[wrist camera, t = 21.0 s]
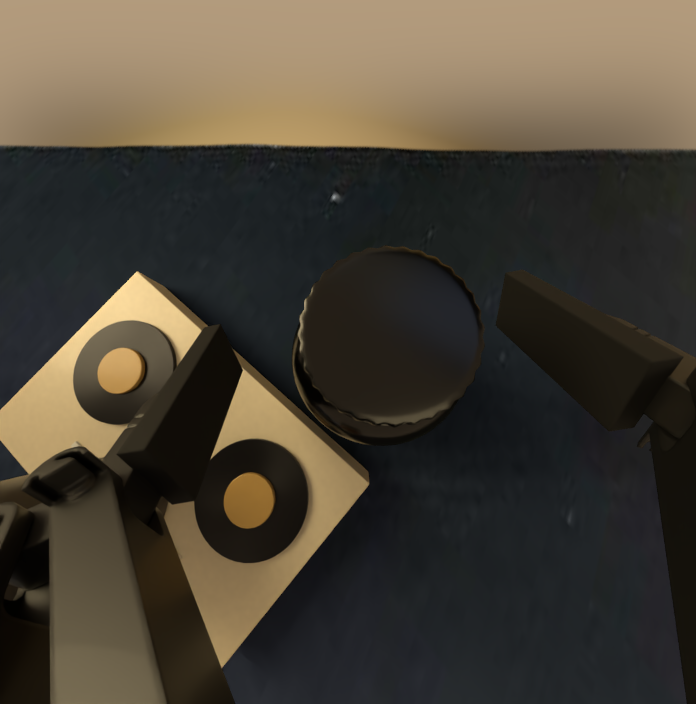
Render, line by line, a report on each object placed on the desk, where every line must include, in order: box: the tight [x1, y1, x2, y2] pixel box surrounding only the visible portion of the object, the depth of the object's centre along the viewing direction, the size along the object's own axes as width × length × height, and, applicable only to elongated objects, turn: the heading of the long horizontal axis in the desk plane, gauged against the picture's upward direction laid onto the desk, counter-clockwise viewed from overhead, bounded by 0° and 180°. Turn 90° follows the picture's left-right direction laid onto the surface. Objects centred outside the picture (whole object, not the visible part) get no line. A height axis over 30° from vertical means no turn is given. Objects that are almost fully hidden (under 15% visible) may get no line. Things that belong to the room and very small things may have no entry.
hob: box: [0, 272, 369, 668], centre depth 17 cm, size 20×15×3 cm
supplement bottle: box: [292, 245, 485, 446], centre depth 13 cm, size 7×7×12 cm
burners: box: [73, 320, 309, 563], centre depth 16 cm, size 17×6×1 cm, turn 49°
